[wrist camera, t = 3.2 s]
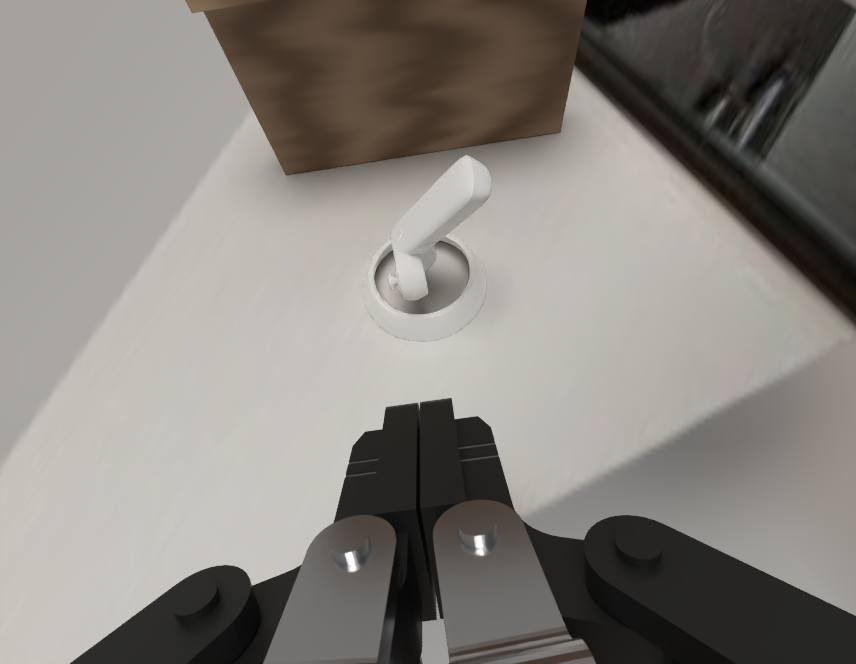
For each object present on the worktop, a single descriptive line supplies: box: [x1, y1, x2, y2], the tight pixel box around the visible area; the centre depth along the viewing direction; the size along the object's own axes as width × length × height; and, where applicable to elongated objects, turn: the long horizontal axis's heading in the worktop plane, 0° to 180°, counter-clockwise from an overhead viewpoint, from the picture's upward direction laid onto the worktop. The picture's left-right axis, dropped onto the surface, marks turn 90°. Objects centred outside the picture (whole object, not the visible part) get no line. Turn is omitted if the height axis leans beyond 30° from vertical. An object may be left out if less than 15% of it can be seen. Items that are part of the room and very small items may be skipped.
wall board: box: [185, 0, 587, 175], centre depth 25 cm, size 20×4×18 cm, turn 96°
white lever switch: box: [363, 155, 492, 342], centre depth 25 cm, size 8×12×7 cm
